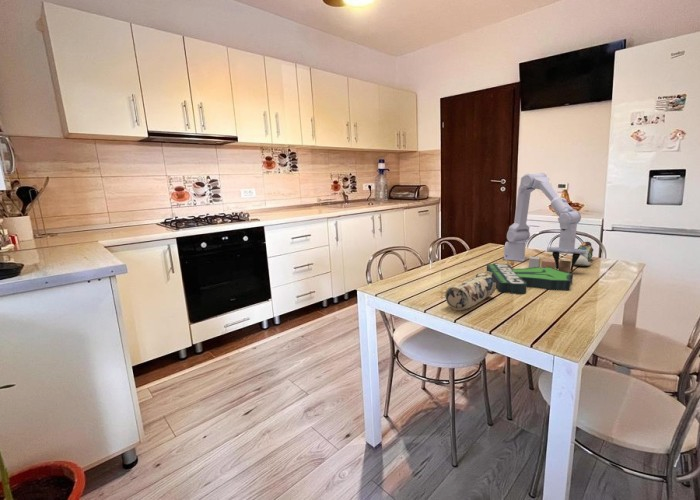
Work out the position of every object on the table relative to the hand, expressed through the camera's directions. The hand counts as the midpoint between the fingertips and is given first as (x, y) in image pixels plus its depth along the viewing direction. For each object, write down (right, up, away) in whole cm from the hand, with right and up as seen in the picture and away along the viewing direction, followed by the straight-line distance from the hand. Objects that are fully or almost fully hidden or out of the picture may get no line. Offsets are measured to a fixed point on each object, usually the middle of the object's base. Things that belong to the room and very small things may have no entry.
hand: (564, 269), depth 148 cm
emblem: (-20, -5, -10) cm, 23 cm away
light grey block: (-8, 0, +9) cm, 12 cm away
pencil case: (-52, -10, -30) cm, 61 cm away
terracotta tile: (+1, +1, +12) cm, 12 cm away
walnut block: (0, -1, 0) cm, 2 cm away
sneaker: (+18, +2, +14) cm, 23 cm away
